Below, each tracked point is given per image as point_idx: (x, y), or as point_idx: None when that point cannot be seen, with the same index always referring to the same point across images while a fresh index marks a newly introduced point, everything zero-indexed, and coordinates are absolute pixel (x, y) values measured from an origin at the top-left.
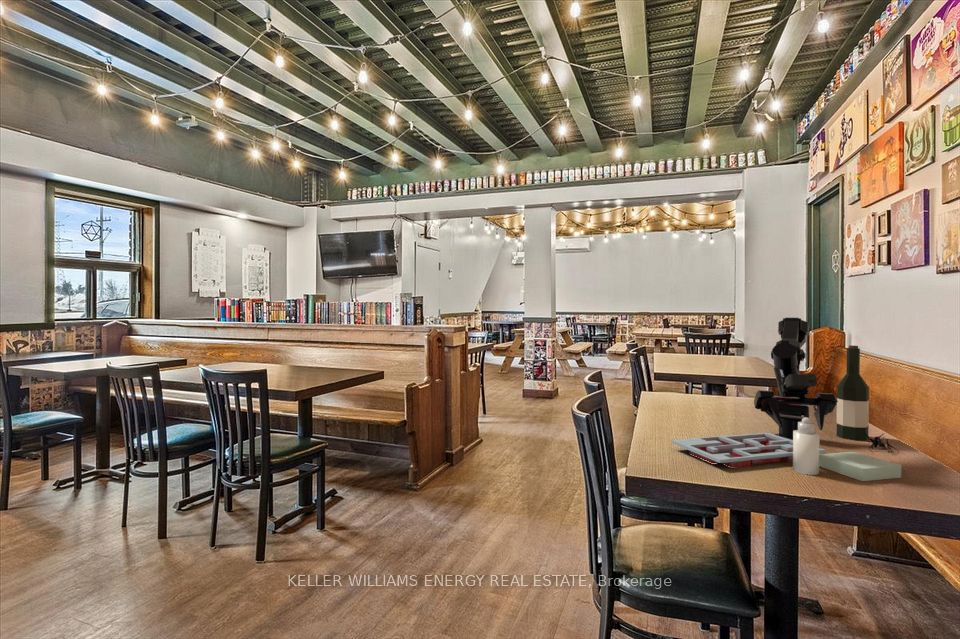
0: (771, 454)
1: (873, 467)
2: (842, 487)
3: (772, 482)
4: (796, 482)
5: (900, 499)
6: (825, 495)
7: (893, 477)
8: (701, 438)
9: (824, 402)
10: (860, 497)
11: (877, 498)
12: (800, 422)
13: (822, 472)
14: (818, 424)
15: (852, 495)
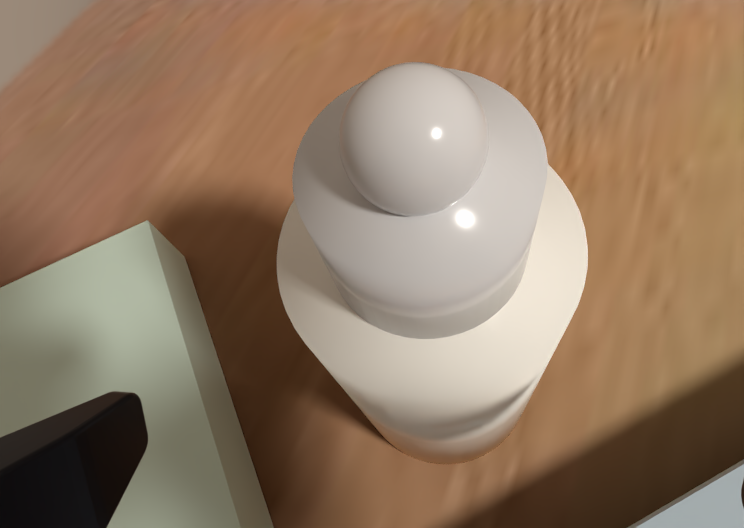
0: (713, 500)
1: (50, 273)
2: None
3: (720, 106)
4: (577, 143)
5: (182, 61)
6: (489, 14)
7: None
8: None
9: None
10: (341, 35)
11: (273, 45)
12: (500, 189)
13: (332, 382)
14: (81, 524)
15: (363, 47)
